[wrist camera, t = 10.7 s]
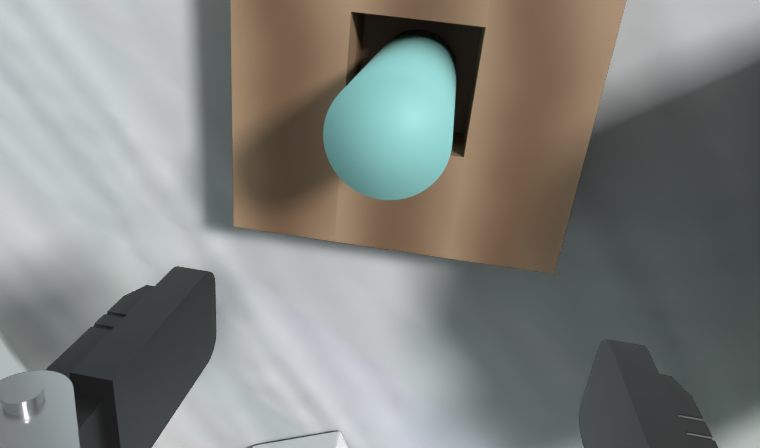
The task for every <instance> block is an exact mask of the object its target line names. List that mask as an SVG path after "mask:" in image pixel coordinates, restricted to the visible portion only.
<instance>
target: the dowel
mask: <svg viewBox="0 0 760 448" xmlns="http://www.w3.org/2000/svg"><path fill="white" fill-rule="evenodd" d="M456 81H457V64H456V59H455V56H454V54H453V52H452V50H451V48H450V47H449V45H448V44H447V43H446V42H445V41H444V40H443V39H442V38H441V37H439V36H438V35H436V34H434V33H432V32H429V31H425V30H409V31H405V32H402V33H400V34H398V35H396V36H395V37H393V38H392V39H391V40H390V41H389V42H388V43H387V44H386V45H385V46H384V47H383V48H382V49H381V50H380V51H379V52H378V53H377V54H376V55H375V56H374V57H373V58H372V60H371V61H370V62H369V63H368V64H367V65H366V66H365V67H364V68H363V69H362V70H361V71H360V72H359V73H358V74H357V75H356V76H355V77H354V78H353V79H352V81H351V82H350V83H349V84H348V85H347V86H346V87H345V88H344V89H343V90H342V91H341V92H340V93H339V94H338V96H337V97H336V98H335V99H334V101H333V102H332V104H331V106H330V107H329V110H328V112H327V115H326V118H325V122H324V129H323V141H324V148H325V152H326V155H327V158H328V160H329V162H330V164H331V166H332V168H333V170H334V171H335V172H336V174H337V175H338V176H339V177H340V178H341V179H342V181H343V182H344V183H346V184H347V185H348V186H349V187H351V188H352V189H354V190H355V191H357V192H359V193H361V194H363V195H365V196H368V197H371V198H375V199H380V200H399V199H405V198H408V197H412V196H414V195H416V194H419V193H421V192H422V191H424V190H426V189H427V188H428V187H430V186H431V185H432V184H433V183H434V182H435V181H436V180H437V179H438V178H439V177H440V175H441V174H442V172H443V171H444V169H445V167H446V165H447V163H448V161H449V158H450V154H451V150H452V141H453V126H454V111H455V96H456Z"/></svg>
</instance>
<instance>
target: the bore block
mask: <svg viewBox="0 0 760 448" xmlns="http://www.w3.org/2000/svg"><path fill="white" fill-rule="evenodd" d="M625 4H626V0H230V12H231V81H232V150H233V219H234V227H240V228H246V229H253V230H260V231H266V232H273V233H280V234H287V235H293V236H300V237H307V238H314V239H320V240H327V241H334V242H341V243H347V244H354V245H361V246H368V247H374V248H381V249H388V250H395V251H401V252H408V253H415V254H422V255H428V256H435V257H442V258H449V259H455V260H462V261H469V262H476V263H482V264H489V265H496V266H502V267H509V268H516V269H523V270H529V271H536V272H543V273H550V274H555V270H556V266H557V262H558V259H559V255H560V251H561V247H562V243H563V240H564V236H565V232H566V228H567V225H568V221H569V217H570V213H571V209H572V206H573V202H574V198H575V194H576V190H577V187H578V183H579V179H580V175H581V171H582V168H583V164H584V160H585V156H586V152H587V149H588V145H589V141H590V137H591V133H592V130H593V126H594V122H595V118H596V114H597V111H598V107H599V103H600V99H601V95H602V92H603V88H604V84H605V80H606V76H607V73H608V69H609V65H610V61H611V57H612V54H613V50H614V46H615V42H616V38H617V35H618V31H619V27H620V23H621V19H622V16H623V12H624V8H625ZM409 30H425V31H429V32H432V33H434V34H436V35H438V36H439V37H441V38H442V39H443V40H444V41H445V42H446V43H447V44H448V45H449V47H450V48H451V50H452V52H453V54H454V56H455V59H456V64H457V81H456V96H455V111H454V126H453V141H452V150H451V154H450V158H449V161H448V163H447V165H446V167H445V169H444V171H443V172H442V174H441V175H440V177H439V178H438V179H437V180H436V181H435V182H434V183H433V184H432V185H431V186H430V187H428V188H427V189H426V190H424V191H422V192H421V193H419V194H416V195H414V196H412V197H408V198H405V199H399V200H380V199H375V198H371V197H368V196H365V195H363V194H361V193H359V192H357V191H355V190H354V189H352V188H351V187H349V186H348V185H347V184H346V183H344V182H343V181H342V179H341V178H340V177H339V176H338V175H337V174H336V172H335V171H334V170H333V168H332V166H331V164H330V162H329V160H328V158H327V155H326V152H325V148H324V141H323V129H324V122H325V118H326V115H327V112H328V110H329V107H330V106H331V104H332V102H333V101H334V99H335V98H336V97H337V96H338V94H339V93H340V92H341V91H342V90H343V89H344V88H345V87H346V86H347V85H348V84H349V83H350V82H351V81H352V79H353V78H354V77H355V76H356V75H357V74H358V73H359V72H360V71H361V70H362V69H363V68H364V67H365V66H366V65H367V64H368V63H369V62H370V61H371V60H372V58H373V57H374V56H375V55H376V54H377V53H378V52H379V51H380V50H381V49H382V48H383V47H384V46H385V45H386V44H387V43H388V42H389V41H390V40H391V39H392V38H393V37H395V36H396V35H398V34H400V33H402V32H405V31H409Z"/></svg>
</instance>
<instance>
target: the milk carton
mask: <svg viewBox="0 0 760 448" xmlns="http://www.w3.org/2000/svg"><path fill="white" fill-rule="evenodd" d="M252 448H348V447H347V445H346V443H345V441H344V438H343V436H342V434H341V432H339V431H337V432H330V433H324V434H319V435H313V436H307V437H301V438H295V439H289V440H284V441H278V442H272V443H266V444H260V445H255V446H253V447H252Z"/></svg>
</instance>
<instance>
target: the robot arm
mask: <svg viewBox="0 0 760 448" xmlns="http://www.w3.org/2000/svg"><path fill="white" fill-rule="evenodd" d="M215 340H216V295H215V278H214V275H213V273H212V272H208V271H202V270H196V269H190V268H184V267H178V266H177V267H174V268H173V269H172V270H171V271H170V272H169V273H168V274H167V275H166V276H165V277H164V278H163V279H162V280H161V281H160V282H159V283H158V284H157V285H156V286H149V285H146V286H144V287H142V288H140V289H138V290H136V291H134V292H131V293H129V294H127V295H125V296H123V297H122V298H121V299H120V300H119V301H118V302H117V303H116V304H115V305H114V306H113V307H112V308H111V309H110V310H109V311H108V313H107V315H106V314H104V315H103V316H102V317H101V318H100V319H99V320H98V321H97V322H96V323H95V325H94V327H91V328H89V329H88V330H87V331H86V332H85V333H84V334H83V335H82V336H81V337H80V338H79V339H78V340H77V341H76V342H75V343H74V344H72V345H71V346H70V347H69V348H68V349H67V350H66V351H65V352H64V353H63V354H62V355H61V356H60V357H59V358H58V359H57V360H56V361H54V362H53V363H52V364H51V365H50V366H49V367H48V368H47V369H46V370H36V371H28V372H22V373H18V374H15V375H12V376H9V377H6V378H4V379H2V380H0V448H152V446H153V445H154V443H155V442H156V440H157V439H158V437H159V436H160V434H161V433H162V431H163V430H164V428H165V427H166V425H167V424H168V422H169V421H170V419H171V418H172V416H173V415H174V413H175V412H176V410H177V409H178V407H179V406H180V404H181V403H182V401H183V400H184V398H185V397H186V395H187V394H188V392H189V391H190V389H191V388H192V386H193V385H194V383H195V382H196V380H197V379H198V377H199V376H200V374H201V373H202V371H203V370H204V368H205V367H206V365H207V364H208V362H209V360H210V358H211V355H212V353H213V349H214V346H215ZM579 426H580V433H581V437H582V442H583V446H584V448H718V446H717V444H716V442H715V441H713V440H712V435H711V433H710V431H709V429H708V427H707V425H706V423H705V422H703V417H702V415H701V414H700V412H699V410H698V408H697V406H696V404H695V402H694V400H693V398H692V396H691V395H690V394H688V393H687V392H686V391H685V390H684V389H683V388H682V387H681V386H680V385H679V384H678V383H677V382H676V381H675V380H674V379H673V378H672V377H671V376H666V375H660V374H659V373H658V371H657V369H656V366H655V364H654V362H653V360H652V358H651V356H650V354H649V351H648V350H647V348H646V347H645V346H642V345H636V344H630V343H624V342H618V341H612V340H603V341H602V342H601V344H600V346H599V348H598V351H597V354H596V357H595V361H594V364H593V367H592V370H591V373H590V376H589V379H588V382H587V385H586V388H585V391H584V394H583V397H582V401H581V406H580V414H579Z"/></svg>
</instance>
